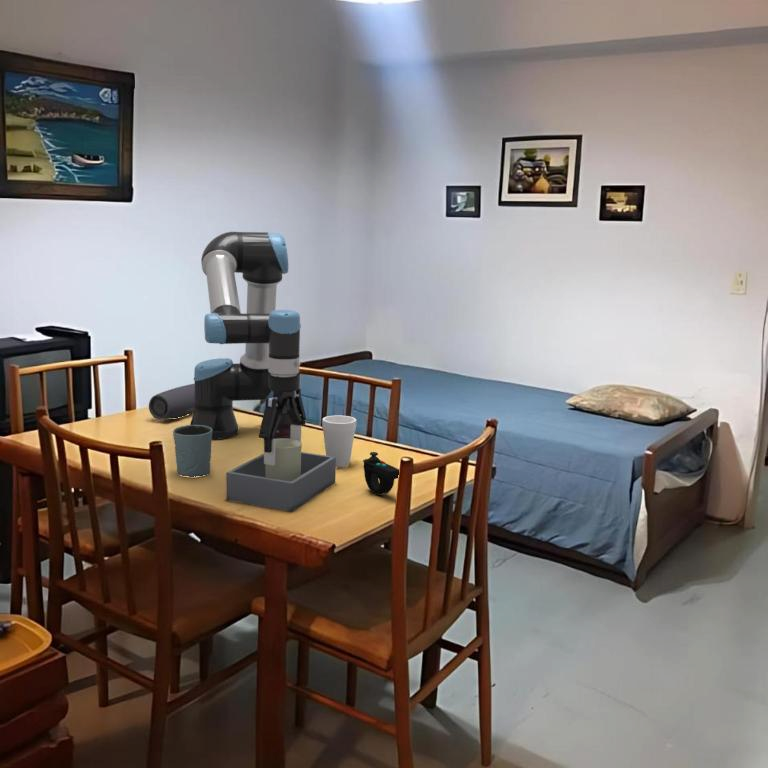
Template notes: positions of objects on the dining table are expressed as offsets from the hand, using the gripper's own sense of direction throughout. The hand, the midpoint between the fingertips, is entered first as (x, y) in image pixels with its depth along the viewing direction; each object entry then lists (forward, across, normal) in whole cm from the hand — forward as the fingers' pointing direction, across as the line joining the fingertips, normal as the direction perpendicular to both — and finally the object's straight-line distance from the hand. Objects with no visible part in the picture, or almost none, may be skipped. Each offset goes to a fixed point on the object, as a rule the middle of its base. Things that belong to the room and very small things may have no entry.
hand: (283, 456), depth 205 cm
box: (+9, 0, 0) cm, 9 cm away
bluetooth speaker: (+10, +52, +67) cm, 85 cm away
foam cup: (+9, +27, -3) cm, 28 cm away
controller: (+9, +9, -23) cm, 26 cm away
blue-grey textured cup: (+9, +2, +28) cm, 29 cm away
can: (+8, 0, 0) cm, 8 cm away
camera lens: (+10, +27, +15) cm, 32 cm away
